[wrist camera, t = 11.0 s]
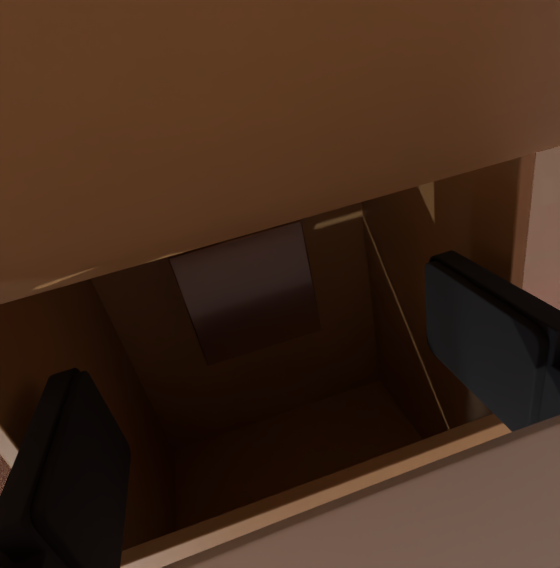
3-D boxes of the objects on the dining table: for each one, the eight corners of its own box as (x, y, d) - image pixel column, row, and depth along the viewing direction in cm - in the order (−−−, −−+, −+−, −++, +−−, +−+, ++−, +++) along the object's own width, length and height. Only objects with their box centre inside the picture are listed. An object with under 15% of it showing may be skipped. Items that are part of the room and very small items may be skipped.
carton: (39, 190, 15) (-149, 338, 6) (356, 110, 17) (572, 135, 8) (169, 451, 22) (170, 698, 13) (383, 378, 24) (513, 553, 15)
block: (167, 218, 16) (167, 258, 12) (271, 190, 17) (302, 220, 13) (199, 308, 18) (207, 366, 14) (290, 281, 19) (322, 330, 15)
